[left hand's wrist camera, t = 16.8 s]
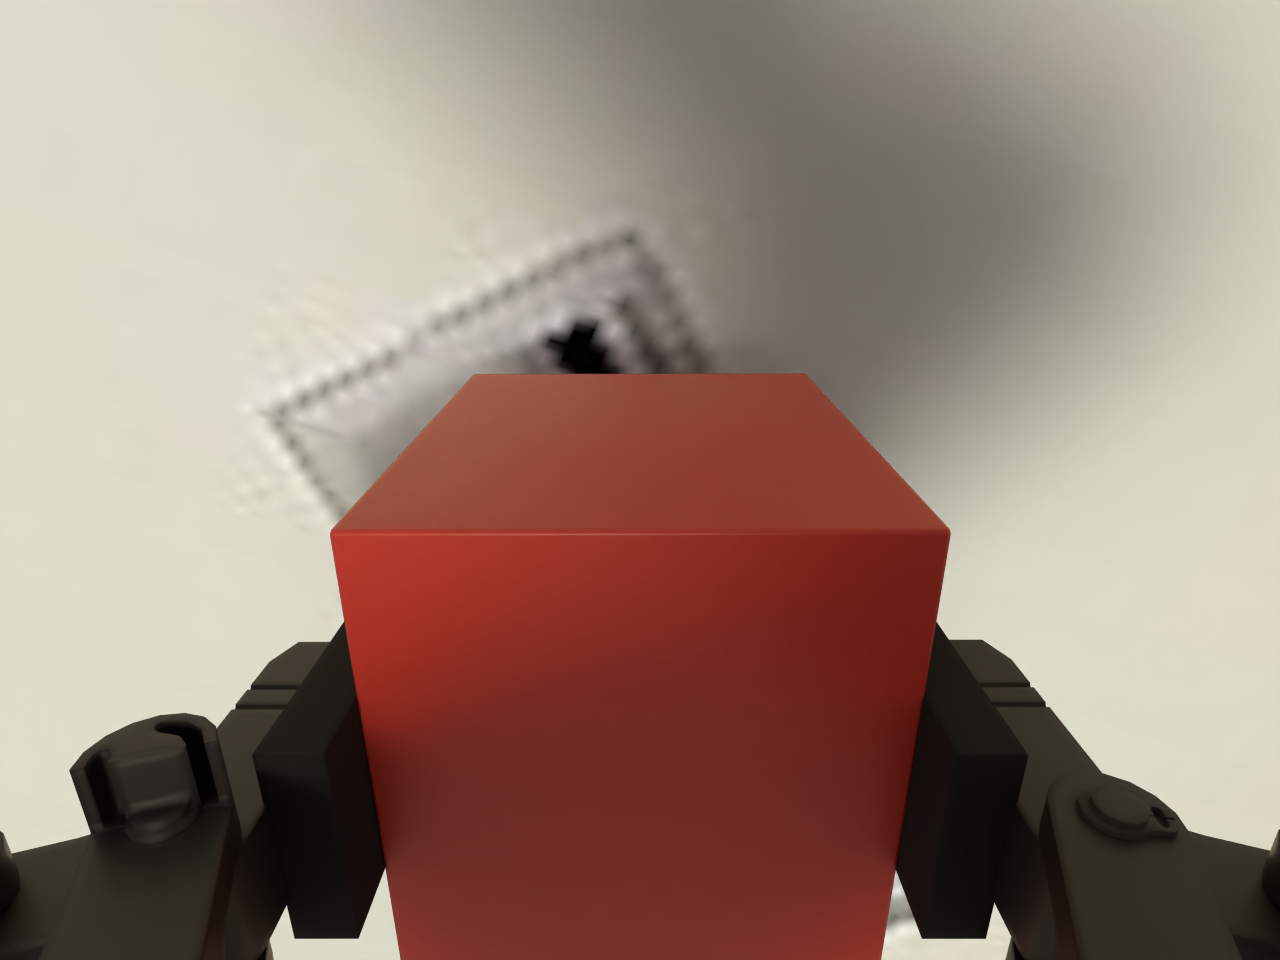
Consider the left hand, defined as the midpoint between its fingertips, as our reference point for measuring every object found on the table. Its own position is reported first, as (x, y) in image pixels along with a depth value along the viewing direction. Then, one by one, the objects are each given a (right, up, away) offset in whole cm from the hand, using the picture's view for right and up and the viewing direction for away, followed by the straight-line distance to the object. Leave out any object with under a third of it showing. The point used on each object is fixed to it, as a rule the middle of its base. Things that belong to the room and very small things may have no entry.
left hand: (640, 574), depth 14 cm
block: (0, +1, +2) cm, 2 cm away
